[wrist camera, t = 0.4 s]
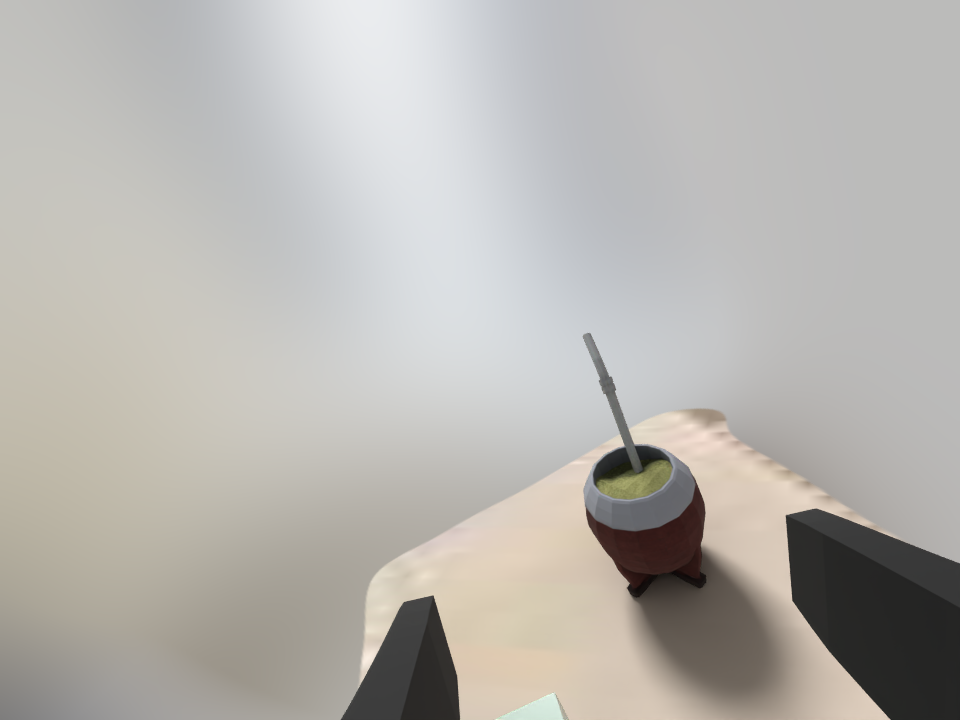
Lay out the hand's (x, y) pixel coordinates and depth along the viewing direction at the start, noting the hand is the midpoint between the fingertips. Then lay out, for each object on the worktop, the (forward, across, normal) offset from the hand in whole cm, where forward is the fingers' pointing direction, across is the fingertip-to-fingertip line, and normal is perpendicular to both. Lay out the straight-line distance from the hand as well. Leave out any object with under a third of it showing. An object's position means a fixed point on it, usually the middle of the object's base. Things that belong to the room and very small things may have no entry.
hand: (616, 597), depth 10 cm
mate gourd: (+20, -7, +16) cm, 27 cm away
